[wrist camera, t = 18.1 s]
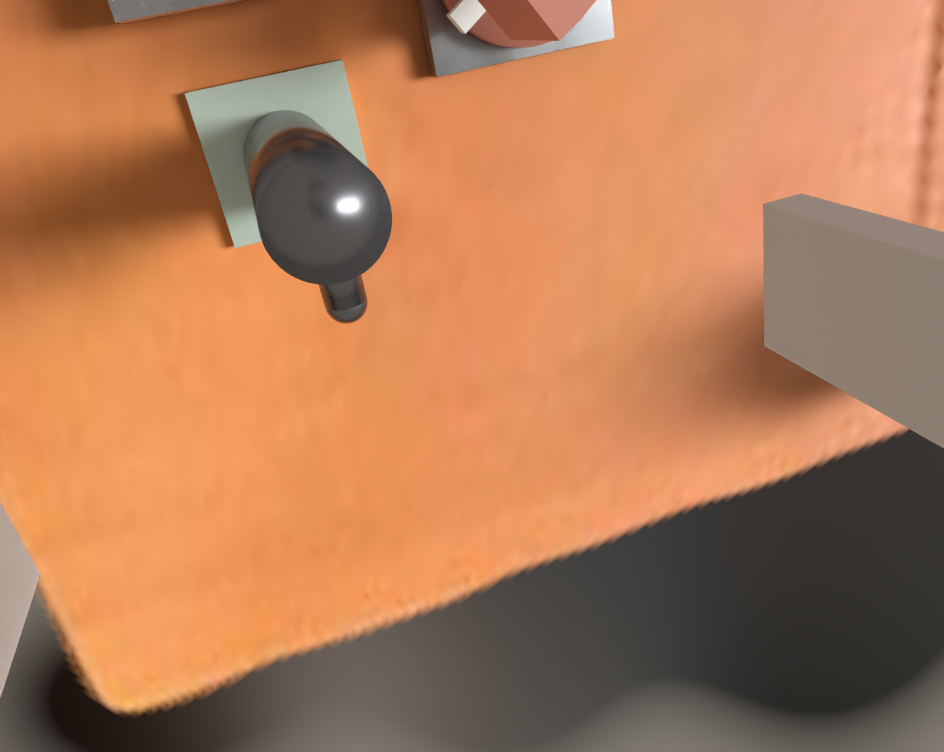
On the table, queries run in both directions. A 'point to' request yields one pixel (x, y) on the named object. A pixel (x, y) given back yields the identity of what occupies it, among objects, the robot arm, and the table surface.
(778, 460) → the table surface
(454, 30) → the wheel base
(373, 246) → the hook peg
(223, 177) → the mat
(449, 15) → the pink block-head stand
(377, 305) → the table surface
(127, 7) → the block
